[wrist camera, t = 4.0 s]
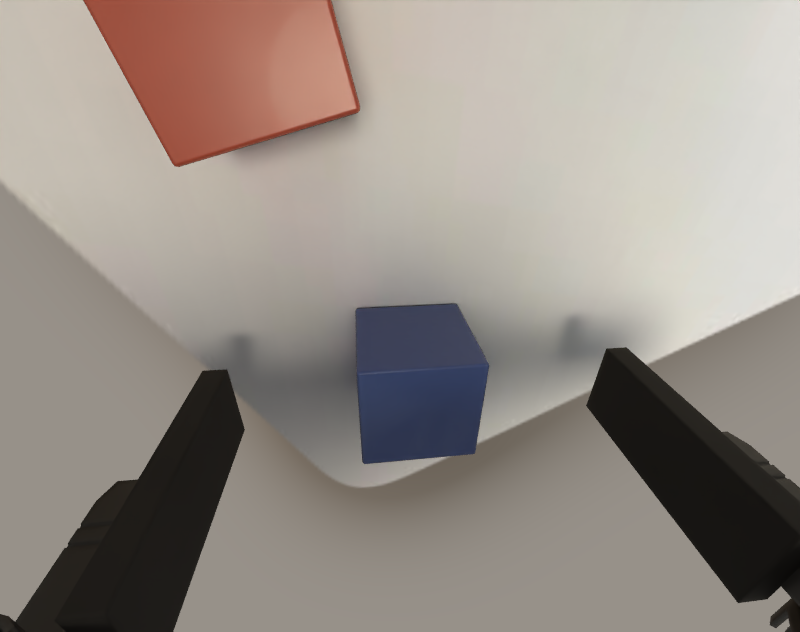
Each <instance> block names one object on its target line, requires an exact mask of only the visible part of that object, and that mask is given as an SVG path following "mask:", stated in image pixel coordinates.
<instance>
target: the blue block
mask: <svg viewBox="0 0 800 632" xmlns="http://www.w3.org/2000/svg"><path fill="white" fill-rule="evenodd" d="M356 369H357V388H358V403H359V418H360V433H361V448H362V462H363V463H364V464H370V463H381V462H392V461H403V460H414V459H425V458H435V457H446V456H456V455H468V454H474V453H475V450H476V444H477V438H478V431H479V425H480V419H481V413H482V407H483V400H484V394H485V388H486V382H487V375H488V369H489V363H488V361H487V360H486V358H485V356H484V354H483V352H482V350H481V348H480V347H479V345H478V343H477V341H476V339H475V337H474V335H473V333H472V332H471V330H470V328H469V326H468V324H467V322H466V320H465V319H464V317H463V315H462V313H461V311H460V309H459V307H458V305H457V304H444V305H424V306H403V307H382V308H361V309H356Z"/></svg>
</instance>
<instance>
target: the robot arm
mask: <svg viewBox="0 0 800 632" xmlns="http://www.w3.org/2000/svg"><path fill="white" fill-rule="evenodd" d="M586 406H587V407H588V409H589V410H590V411H591V412H592V414H593V415H594V416H595V418H596V419H597V420H598V422H599V423H600V424H601V426H602V427H603V428H604V429H605V431H606V432H607V433H608V435H609V436H610V437H611V439H612V440H613V441H614V442H615V444H616V445H617V446H618V448H619V449H620V450H621V452H622V453H623V454H624V455H625V457H626V458H627V459H628V461H629V462H630V463H631V465H632V466H633V467H634V468H635V470H636V471H637V472H638V474H639V475H640V476H641V478H642V479H643V480H644V481H645V483H646V484H647V485H648V487H649V488H650V489H651V490H652V492H653V493H654V494H655V496H656V497H657V498H658V499H659V501H660V502H661V503H662V505H663V506H664V507H665V509H666V510H667V511H668V513H669V514H670V515H671V516H672V518H673V519H674V520H675V522H676V523H677V524H678V525H679V527H680V528H681V529H682V531H683V532H684V533H685V535H686V536H687V537H688V538H689V540H690V541H691V542H692V544H693V545H694V546H695V548H696V549H697V550H698V552H699V553H700V554H701V555H702V557H703V558H704V559H705V561H706V562H707V563H708V564H709V566H710V567H711V568H712V570H713V571H714V572H715V574H716V575H717V576H718V577H719V579H720V580H721V581H722V582H723V584H724V585H725V587H726V588H727V589H728V590H729V592H730V593H731V594H732V596H733V597H734V598H735V600H736V601H737V602H738V603H741V602H749V601H757V600H764V599H768V598H769V597H770V596H771V595H772V594H773V593H774V592H775V591H776V590H777V589H778V588H779V587H780V586H782V588H783V589H784V590H785V591H786V592H787V593H788V594H789V595H790V597H791V599H790V600H789V601H788V602H787V603H786V604H784V605H783V606H782V607H781V608H780V609H779V610H778V611H777V612H775V614H773V615H772V616H771V620H770V625H771V626H773V627H775V628H777V627H778V626H779V625H780V624H782V623H783V622H784V621H785V620H786V619H788V618H789V623H790V626H789V627H788V628H787V630H786V631H785V632H800V488H799V487H798V486H797V485H796V484H795V483H793V482H792V481H791V480H790V479H786V478H785V475H784V474H783V473H782V472H781V471H779V470H778V469H777V468H776V467H775V466H774V465H770V464H769V461H767V459H765V458H764V457H763V456H762V455H761V454H760V453H758V452H757V451H756V450H755V449H754V448H753V447H751V446H750V445H749V444H747V443H745V442H744V441H742V440H740V439H739V438H737V437H735V436H734V435H732V434H730V433H729V432H721V431H720V430H719V429H718V428H716V427H715V426H714V425H713V424H712V423H711V422H710V421H709V420H707V419H706V418H705V417H704V416H703V415H702V414H701V413H700V412H698V411H697V410H696V409H695V408H694V407H693V406H692V405H691V404H689V403H688V402H687V401H686V400H685V399H684V398H683V397H682V396H680V395H679V394H678V393H677V392H676V391H674V389H673V388H671V387H670V386H669V385H668V384H667V383H666V382H664V381H663V380H662V379H661V378H660V377H659V376H658V375H657V374H656V373H655V372H653V371H652V370H651V369H650V368H649V367H648V366H647V365H646V364H644V363H643V362H642V361H641V360H640V359H639V358H638V357H636V356H635V355H634V354H633V353H632V352H631V351H630V350H629V349H627V348H609V349H606V351H605V354H604V357H603V360H602V363H601V365H600V368H599V371H598V374H597V377H596V380H595V382H594V385H593V388H592V391H591V394H590V397H589V400H588V403H587V405H586ZM244 430H245V429H244V426H243V422H242V419H241V415H240V412H239V409H238V405H237V402H236V398H235V395H234V391H233V388H232V384H231V381H230V377H229V374H228V371H227V370H209V371H202V373H201V375H200V376H199V378H198V380H197V381H196V383H195V385H194V387H193V388H192V390H191V392H190V393H189V395H188V396H187V398H186V400H185V402H184V403H183V405H182V407H181V408H180V410H179V412H178V413H177V415H176V417H175V418H174V420H173V422H172V423H171V425H170V427H169V429H168V430H167V432H166V433H165V435H164V437H163V439H162V440H161V442H160V444H159V446H158V447H157V449H156V450H155V452H154V454H153V455H152V457H151V459H150V461H149V462H148V464H147V466H146V467H145V469H144V471H143V472H142V474H141V476H140V477H139V479H138V480H128V481H118V482H116V483H115V484H114V485H113V486H112V487H111V488H110V489H109V490H108V491H107V492H106V493H104V494H103V495H102V496H101V497H100V498H99V499H98V500H97V501H96V502H95V504H94V505H93V507H92V508H91V509H90V511H89V513H88V514H87V516H86V517H85V518H84V520H83V521H82V523H81V527H80V528H79V529H77V531H76V532H75V534H74V535H73V536H72V538H71V539H70V541H69V543H68V547H67V548H65V549H64V550H63V551H62V553H61V554H60V556H59V558H58V559H57V560H56V562H55V563H54V565H53V566H52V568H51V569H50V571H49V572H48V574H47V575H46V577H45V578H44V580H43V581H42V583H41V584H40V586H39V588H38V589H37V590H36V592H35V593H34V595H33V596H32V598H31V599H30V601H29V602H28V604H27V605H26V607H25V608H24V610H23V611H22V613H21V614H20V616H19V617H18V619H17V620H16V622H15V621H13V620H12V619H11V618H10V617H9V616H5V615H1V614H0V632H173V630H174V628H175V625H176V622H177V619H178V616H179V613H180V610H181V608H182V605H183V602H184V599H185V596H186V594H187V591H188V587H189V585H190V582H191V580H192V576H193V574H194V571H195V568H196V565H197V563H198V560H199V557H200V554H201V551H202V548H203V546H204V543H205V540H206V537H207V534H208V532H209V529H210V526H211V523H212V520H213V517H214V515H215V512H216V509H217V506H218V503H219V501H220V498H221V495H222V492H223V489H224V486H225V484H226V481H227V478H228V475H229V472H230V470H231V467H232V464H233V461H234V458H235V455H236V453H237V450H238V447H239V444H240V441H241V438H242V436H243V433H244Z"/></svg>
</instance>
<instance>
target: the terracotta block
mask: <svg viewBox="0 0 800 632" xmlns="http://www.w3.org/2000/svg"><path fill="white" fill-rule="evenodd" d="M84 2H85V4H86V6H87V8H88V10H89V11H90V13H91V15H92V17H93V19H94V21H95V22H96V24H97V26H98V28H99V30H100V32H101V33H102V35H103V37H104V39H105V41H106V43H107V44H108V46H109V48H110V50H111V52H112V54H113V55H114V57H115V59H116V61H117V63H118V65H119V66H120V68H121V70H122V72H123V74H124V76H125V77H126V79H127V81H128V83H129V85H130V87H131V88H132V90H133V92H134V94H135V96H136V98H137V99H138V101H139V103H140V105H141V107H142V108H143V110H144V112H145V114H146V116H147V118H148V119H149V121H150V123H151V125H152V127H153V129H154V130H155V132H156V134H157V136H158V138H159V140H160V141H161V143H162V145H163V147H164V149H165V151H166V152H167V154H168V156H169V158H170V160H171V162H172V163H173V165H174V166H177V167H180V166H184V165H187V164H190V163H194V162H197V161H200V160H203V159H207V158H210V157H213V156H217V155H220V154H223V153H227V152H230V151H233V150H236V149H240V148H243V147H246V146H250V145H253V144H256V143H260V142H263V141H266V140H269V139H273V138H276V137H279V136H283V135H286V134H289V133H293V132H296V131H299V130H302V129H306V128H309V127H312V126H316V125H319V124H322V123H326V122H329V121H332V120H335V119H339V118H342V117H345V116H349V115H352V114H355V113H358V112H359V111H360V104H359V101H358V97H357V93H356V90H355V86H354V82H353V79H352V75H351V71H350V68H349V64H348V60H347V57H346V53H345V49H344V46H343V42H342V38H341V35H340V31H339V28H338V24H337V20H336V17H335V13H334V9H333V6H332V2H331V0H84Z"/></svg>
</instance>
